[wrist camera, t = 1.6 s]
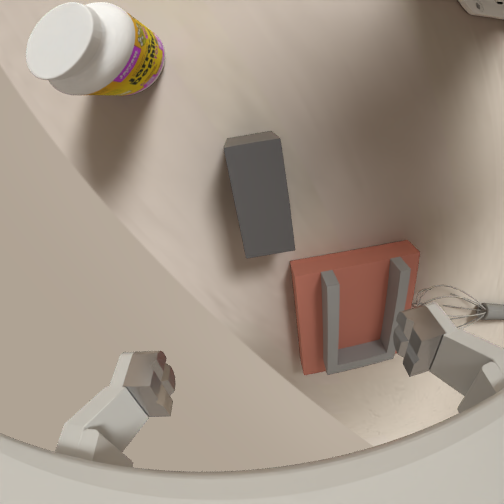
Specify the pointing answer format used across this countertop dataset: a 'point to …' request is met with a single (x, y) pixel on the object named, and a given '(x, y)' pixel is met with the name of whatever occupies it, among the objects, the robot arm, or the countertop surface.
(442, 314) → the robot arm
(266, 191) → the dark gray eraser
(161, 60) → the supplement bottle
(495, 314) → the kitchen whisk
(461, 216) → the countertop surface
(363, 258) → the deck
